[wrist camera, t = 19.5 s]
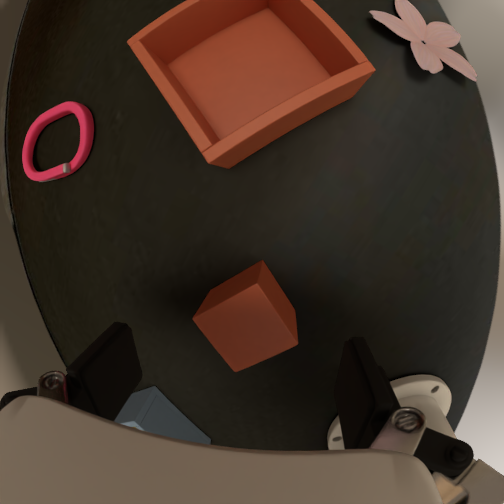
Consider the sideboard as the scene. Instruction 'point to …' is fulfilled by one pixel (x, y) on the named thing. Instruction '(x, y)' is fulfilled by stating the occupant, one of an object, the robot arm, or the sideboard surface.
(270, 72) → the rust bin
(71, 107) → the fitness band
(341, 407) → the robot arm
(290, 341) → the rust block
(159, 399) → the blue bin
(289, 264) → the sideboard surface
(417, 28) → the flower
